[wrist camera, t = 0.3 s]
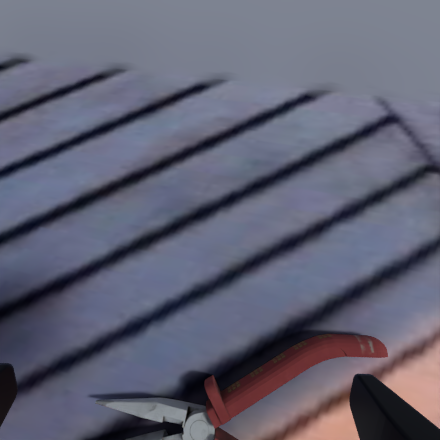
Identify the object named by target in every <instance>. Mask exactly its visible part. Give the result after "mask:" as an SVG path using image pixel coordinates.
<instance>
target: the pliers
mask: <svg viewBox="0 0 440 440" xmlns="http://www.w3.org/2000/svg"><path fill="white" fill-rule="evenodd" d="M345 356H347V357H375V358H382V357H388V353H387V349H386V347H385V345H384V344H383V343H382V342H381V341H380V340H378V339H376V338H374V337H371V336H366V335H344V334H323V335H318V336H315V337H312V338H309V339H307V340H304V341H302V342H300V343H298V344H296V345H294V346H292V347H291V348H289V349H287V350H286V351H284V352H283V353H281V354H279V355H278V356H276V357H275V358H273V359H272V360H270V361H268V362H267V363H265V364H264V365H262V366H260V367H259V368H257V369H256V370H254V371H253V372H251V373H249V374H248V375H246V376H245V377H243V378H241V379H240V380H238V381H237V382H235V383H234V384H232V385H230V386H229V387H227V388H226V389H224V390H222V391H221V390H220V388H219V386H218V384H217V382H216V380H215V378H214V376H213V375H212V376H210V377H209V378H207V379H205V383H204V386H205V389H206V392H207V394H208V397H209V399H208V400H207V401H206V406H204V405H199V404H194V403H189V402H184V401H179V400H174V399H168V398H136V399H110V400H97V401H96V404H99V405H103V406H106V407H109V408H113V409H116V410H119V411H122V412H126V413H129V414H132V415H135V416H139V417H142V418H146V419H150V420H154V421H158V422H163V421H167V422H172V423H176V424H180V425H183V426H182V427H183V428H184V429H183V433H180V434H176V435H172V436H169V435H168V434H167V432H166V429H164V430H160V431H155V432H151V433H147V434H143V435H140V436H136V437H132V438H129V439H125V440H238V439H236V438H235V437H233V436H232V435H230V434H229V433H227V432H225V431H224V430H222V429H221V428H219V426H220V425H223V424H225V423H226V422H228V421H229V420H231V418H233V417H234V416H236V415H237V414H239V413H240V412H242V411H243V410H245V409H247V408H248V407H250V406H251V405H253V404H254V403H256V402H257V401H259V400H260V399H262V398H263V397H265V396H267V395H268V394H270V393H271V392H273V391H274V390H276V389H277V388H279V387H280V386H282V385H283V384H285V383H287V382H288V381H290V380H291V379H293V378H294V377H296V376H297V375H299V374H300V373H302V372H303V371H305V370H307V369H308V368H310V367H312V366H314V365H315V364H318V363H320V362H322V361H325V360H328V359H331V358H336V357H345Z"/></svg>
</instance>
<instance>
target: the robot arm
mask: <svg viewBox="0 0 440 440" xmlns="http://www.w3.org/2000/svg"><path fill="white" fill-rule="evenodd" d="M17 390H18V387H17V382H16V377H15V373H14V368H13V366H12V365H11V364H9V363H0V427H1V425H2V423H3V421H4V419H5V417H6V415H7V413H8V412H9V410H10V408H11V406H12V404H13V402H14V400H15V398H16V395H17ZM350 408H351V411H352V415H353V418H354V421H355V425H356V428H357V431H358V435H359V438H360V440H440V429H439V428H438V427H437V426H435V425H434V424H433V423H432V422H430V421H429V420H428V419H427V418H425V417H424V416H423V415H422V414H420V413H419V412H418V411H417V410H415V409H414V408H413V407H412V406H410V405H409V404H408V403H407V402H405V401H404V400H403V399H402V398H400V397H399V396H398V395H397V394H396V393H394V392H393V391H392V390H391V389H389V388H388V387H387V386H386V385H384V384H383V383H382V382H381V381H379V380H378V379H377V378H376V377H374V376H373V375H370V374H356V375H355V376H354V378H353V383H352V388H351V393H350Z"/></svg>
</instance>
